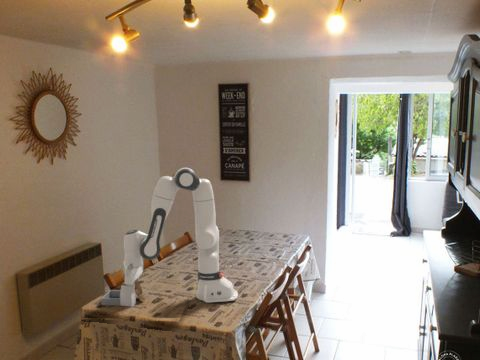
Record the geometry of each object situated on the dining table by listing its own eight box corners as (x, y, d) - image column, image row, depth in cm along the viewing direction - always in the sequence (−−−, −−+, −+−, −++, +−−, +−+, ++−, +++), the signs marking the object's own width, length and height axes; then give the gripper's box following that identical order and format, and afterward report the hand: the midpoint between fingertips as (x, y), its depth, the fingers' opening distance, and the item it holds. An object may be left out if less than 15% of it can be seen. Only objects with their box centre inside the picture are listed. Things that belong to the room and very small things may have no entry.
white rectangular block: (132, 306, 213) (131, 287, 212) (120, 305, 215) (119, 286, 214) (135, 303, 217) (134, 285, 216) (124, 302, 219) (123, 284, 218)
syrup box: (132, 281, 250) (131, 258, 249) (138, 283, 247) (137, 259, 245) (124, 284, 246) (123, 260, 245) (130, 286, 242) (129, 262, 241)
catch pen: (127, 296, 227) (127, 290, 227) (120, 305, 216) (120, 298, 215) (109, 296, 228) (109, 290, 227) (101, 305, 216) (101, 298, 216)
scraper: (142, 295, 225) (136, 278, 224) (145, 299, 219) (139, 281, 217) (136, 297, 224) (131, 280, 222) (140, 301, 218) (134, 284, 216)
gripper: (133, 267, 208) (134, 294, 210) (144, 255, 229) (146, 280, 230) (120, 267, 209) (122, 294, 210) (133, 255, 229) (134, 280, 230)
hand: (134, 287), depth 220 cm, fingers closed on scraper, 4 cm apart
